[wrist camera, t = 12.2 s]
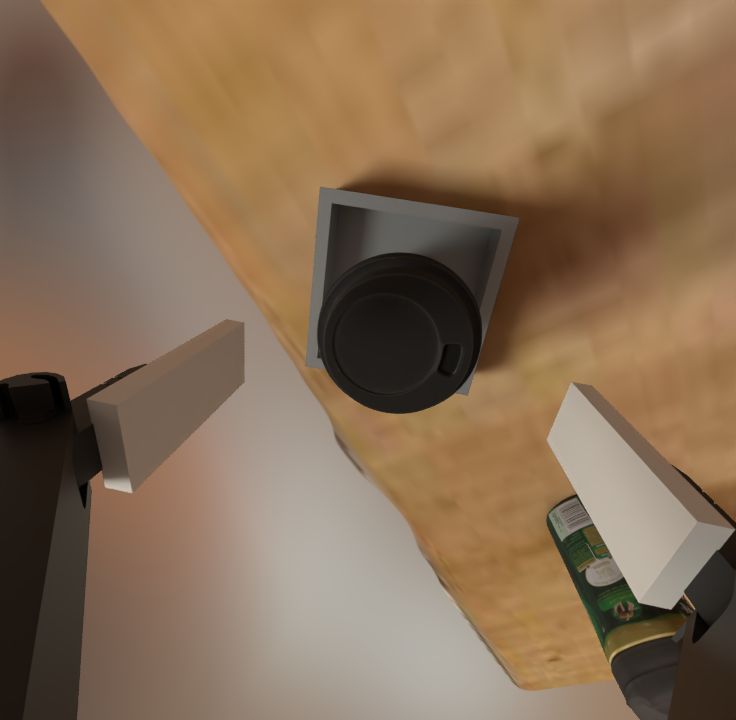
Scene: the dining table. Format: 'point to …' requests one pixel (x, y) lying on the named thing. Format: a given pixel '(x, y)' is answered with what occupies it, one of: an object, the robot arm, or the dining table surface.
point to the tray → (407, 247)
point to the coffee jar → (620, 614)
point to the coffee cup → (399, 332)
